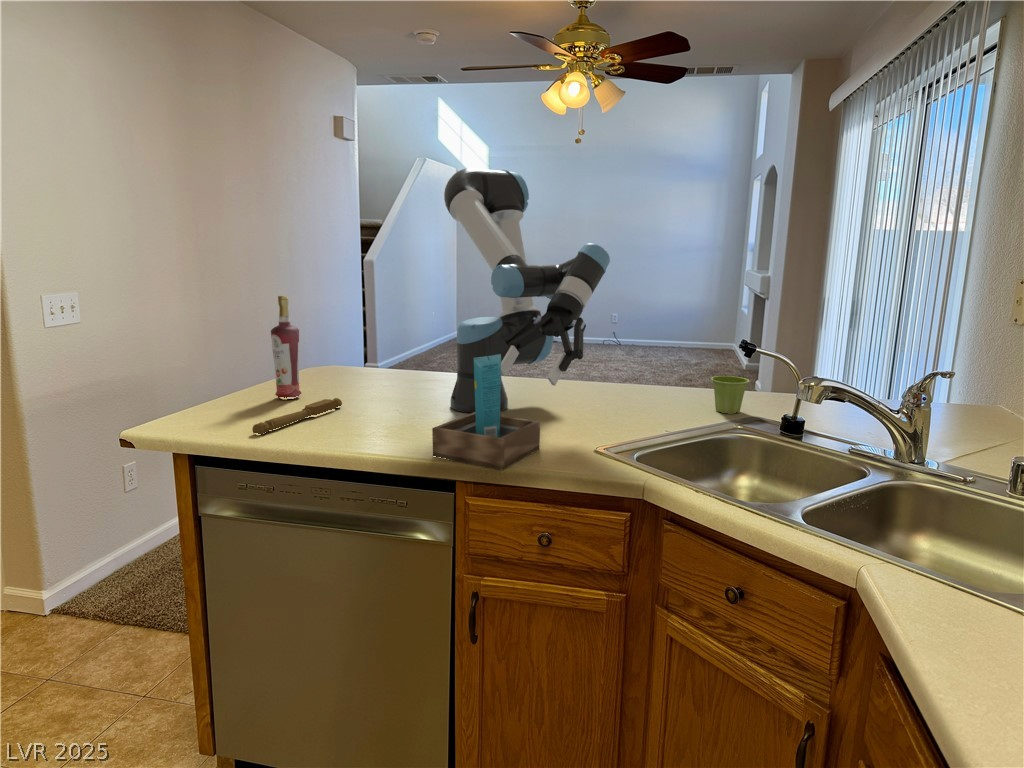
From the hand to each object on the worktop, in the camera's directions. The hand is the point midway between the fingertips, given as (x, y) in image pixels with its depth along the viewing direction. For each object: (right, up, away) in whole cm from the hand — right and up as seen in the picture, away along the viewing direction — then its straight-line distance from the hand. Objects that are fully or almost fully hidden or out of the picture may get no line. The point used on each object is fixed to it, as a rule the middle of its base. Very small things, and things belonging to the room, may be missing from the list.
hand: (525, 377), depth 145 cm
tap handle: (-54, -11, +19) cm, 58 cm away
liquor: (-65, -6, +42) cm, 77 cm away
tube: (-8, -15, -6) cm, 18 cm away
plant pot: (+54, -9, +33) cm, 64 cm away
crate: (-8, -16, -5) cm, 18 cm away
